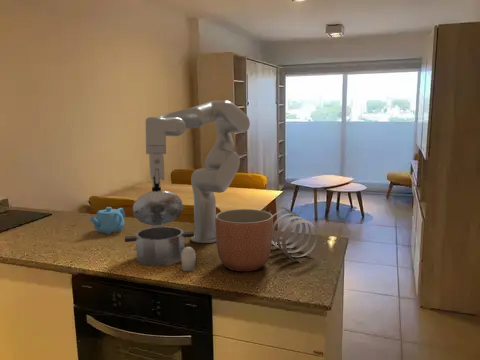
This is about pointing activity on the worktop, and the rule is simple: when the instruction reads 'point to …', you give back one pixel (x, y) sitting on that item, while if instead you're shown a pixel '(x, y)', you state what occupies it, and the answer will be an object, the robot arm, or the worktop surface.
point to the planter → (244, 238)
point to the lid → (157, 207)
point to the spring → (288, 231)
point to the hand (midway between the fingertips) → (156, 197)
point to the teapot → (109, 220)
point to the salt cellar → (188, 259)
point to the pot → (159, 245)
